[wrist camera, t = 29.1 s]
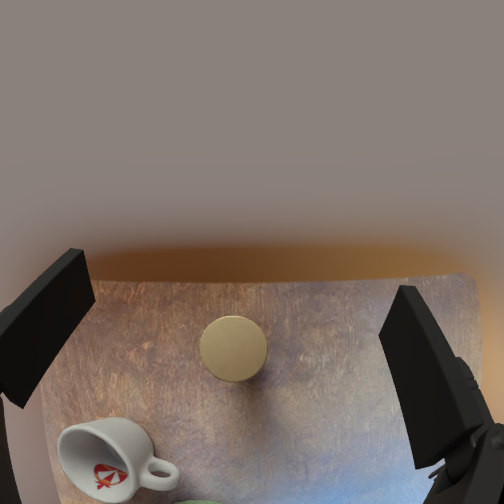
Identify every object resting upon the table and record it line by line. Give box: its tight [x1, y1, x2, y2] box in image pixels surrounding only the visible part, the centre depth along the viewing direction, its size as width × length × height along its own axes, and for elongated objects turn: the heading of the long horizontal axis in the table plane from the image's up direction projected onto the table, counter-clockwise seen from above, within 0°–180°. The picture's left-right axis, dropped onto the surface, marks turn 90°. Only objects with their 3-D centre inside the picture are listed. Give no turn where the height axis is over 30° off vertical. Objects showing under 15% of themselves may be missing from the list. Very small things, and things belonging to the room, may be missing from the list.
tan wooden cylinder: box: [199, 316, 268, 382], centre depth 19 cm, size 3×3×15 cm
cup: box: [57, 417, 180, 504], centre depth 19 cm, size 11×8×8 cm
